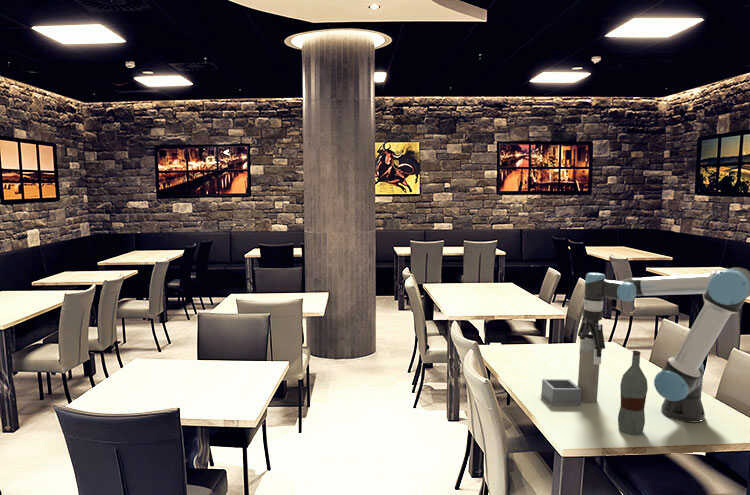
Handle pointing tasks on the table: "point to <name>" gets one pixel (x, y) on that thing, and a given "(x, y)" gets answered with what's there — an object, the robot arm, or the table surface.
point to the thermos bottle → (588, 371)
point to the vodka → (633, 398)
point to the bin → (561, 392)
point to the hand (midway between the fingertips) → (589, 359)
